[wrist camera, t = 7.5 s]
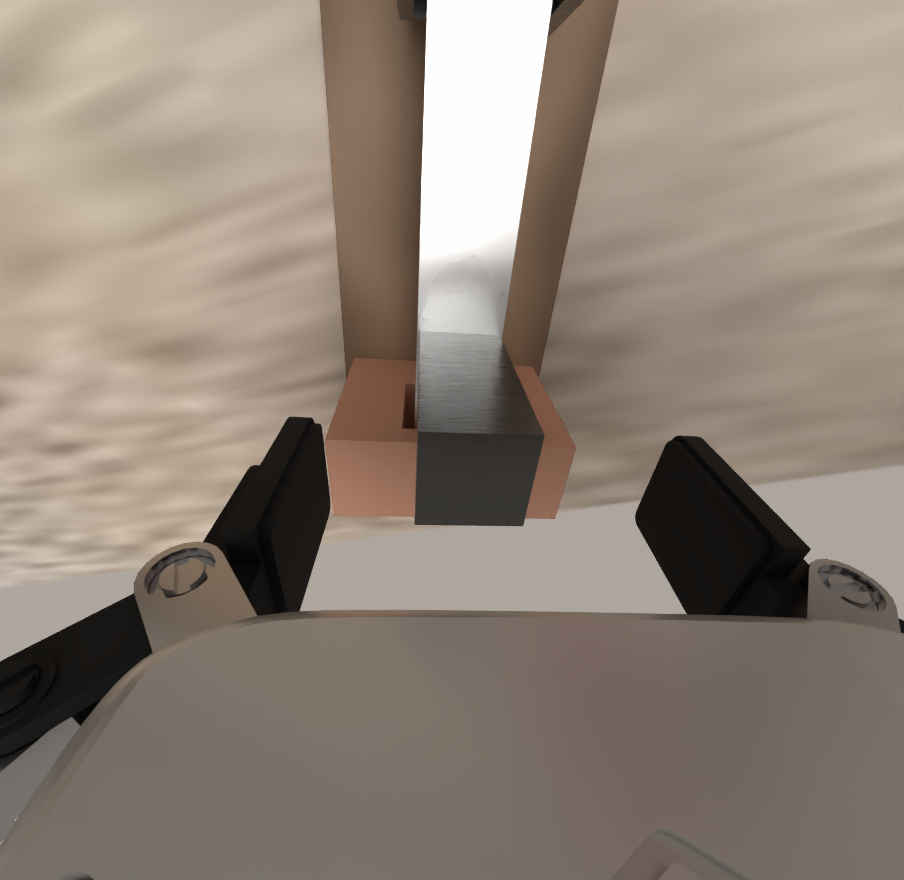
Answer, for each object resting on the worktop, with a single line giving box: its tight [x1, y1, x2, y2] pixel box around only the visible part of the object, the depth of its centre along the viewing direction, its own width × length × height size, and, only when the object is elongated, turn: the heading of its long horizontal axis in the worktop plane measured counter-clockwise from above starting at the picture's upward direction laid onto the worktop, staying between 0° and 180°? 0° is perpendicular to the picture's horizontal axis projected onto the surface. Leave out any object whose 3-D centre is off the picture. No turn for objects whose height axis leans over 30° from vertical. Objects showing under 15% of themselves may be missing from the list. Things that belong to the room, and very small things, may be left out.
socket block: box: [325, 358, 576, 519], centre depth 21 cm, size 10×4×8 cm, turn 86°
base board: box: [320, 0, 619, 378], centre depth 18 cm, size 11×30×2 cm, turn 176°
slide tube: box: [414, 0, 552, 526], centre depth 12 cm, size 3×19×10 cm, turn 176°
